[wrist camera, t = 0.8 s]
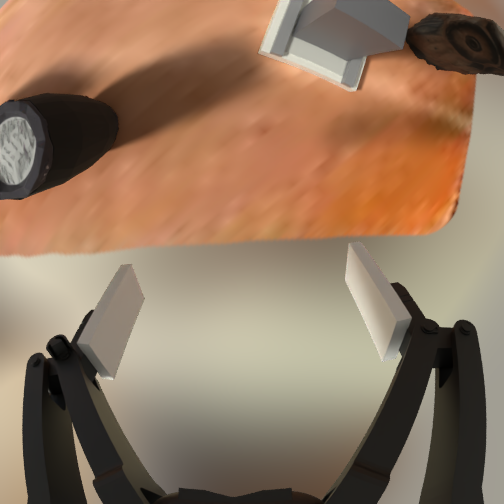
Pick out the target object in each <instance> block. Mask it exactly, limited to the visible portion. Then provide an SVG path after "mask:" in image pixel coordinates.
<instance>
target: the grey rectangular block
mask: <svg viewBox="0 0 504 504" xmlns="http://www.w3.org/2000/svg"><path fill="white" fill-rule="evenodd" d="M409 20H410V16H409V15H408V14H406V13H405V12H404V11H402V10H401V9H400V8H398V7H397V6H395V5H394V4H393V3H391V2H390V1H388V0H312V1H311V2H310V3H309V4H307V5H306V6H305V7H304V8H303V9H302V11H301V14H300V17H299V19H298V22H297V25H296V27H295V30H294V33H293V35H292V36H293V37H296V38H298V39H301V40H303V41H305V42H308V43H310V44H312V45H315V46H317V47H319V48H321V49H323V50H325V51H328V52H330V53H332V54H334V55H336V56H338V57H340V58H342V59H344V60H345V61H348V60H352V59H356V58H360V57H365V56H369V55H374V54H379V53H384V52H390V51H395V50H402V49H403V46H404V42H405V38H406V33H407V29H408V24H409Z"/></svg>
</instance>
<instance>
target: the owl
mask: <svg viewBox="0 0 504 504" xmlns="http://www.w3.org/2000/svg"><path fill="white" fill-rule="evenodd" d="M405 40H406V42H407V44H408V45H409V46H410V48H411V49H412V51H413V52H414V54H415V56H417V58H419V59H424V60H426V62H427V64H429V65H433V66H436V69H437V70H445V71H456V72H459V73H462V74H465V75H467V74H478V73H479V74H495V75H500V76H504V30H503V29H502V28H500V27H499V26H498V25H497V24H496V23H495V22H494V21H493V20H490V19H486V18H481V17H470V16H466V15H462V14H449V13H433V14H432V15H431V14H429V15H428V16H427V17H426V18H424V19H422V20H421V21H420V22H419V23H416V24H415V25H414V26H413V27H412V28H410V29H408V30H407V33H406V38H405Z"/></svg>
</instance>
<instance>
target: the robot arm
mask: <svg viewBox="0 0 504 504" xmlns="http://www.w3.org/2000/svg"><path fill="white" fill-rule="evenodd" d="M345 281H346V284H347V286H348V288H349V290H350V292H351V294H352V296H353V298H354V300H355V302H356V304H357V306H358V309H359V311H360V313H361V315H362V317H363V319H364V322H365V324H366V326H367V328H368V330H369V333H370V335H371V337H372V340H373V342H374V344H375V346H376V349H377V351H378V353H379V356H380V358H381V361H382V362H383V361H387V360H391V359H395V358H396V357H397V354H398V352H399V351H400V353H401V355H402V358H401V360H400V362H399V365H398V367H397V369H396V373H395V375H394V377H393V380H392V382H391V384H390V387H389V389H388V391H387V393H386V395H385V398H384V400H383V402H382V404H381V406H380V408H379V410H378V412H377V414H376V416H375V418H374V420H373V422H372V424H371V426H370V427H369V429H368V431H367V433H366V434H365V437H364V438H363V440H362V441H361V443H360V445H359V447H358V448H357V450H356V452H355V453H354V455H353V456H352V458H351V460H350V461H349V463H348V464H347V466H346V467H345V469H344V470H343V472H342V473H341V475H340V476H339V478H338V479H337V480H336V482H335V483H334V484H333V486H332V487H331V488H330V489H329V491H328V492H327V493H326V495H325V496H324V498H323V499H322V500H320V499H318V498H316V497H314V496H312V495H309V494H306V493H301V492H294V491H292V489H291V488H286V489H275V490H262V491H259V492H255V493H251V494H247V495H243V496H238V497H229V496H225V495H221V494H217V493H213V492H210V491H206V490H196V489H184V488H179V492H175V493H171V494H168V495H167V494H166V493H165V491H164V490H163V489H162V488H161V487H160V486H159V485H157V484H156V483H155V481H154V480H153V479H152V478H151V476H150V475H149V473H148V472H147V470H146V469H145V467H144V466H143V464H142V463H141V462H140V460H139V458H138V457H137V455H136V453H135V452H134V450H133V448H132V447H131V445H130V443H129V442H128V440H127V438H126V437H125V435H124V433H123V431H122V429H121V427H120V426H119V424H118V422H117V420H116V418H115V416H114V414H113V412H112V410H111V408H110V406H109V404H108V402H107V400H106V398H105V396H104V393H103V391H102V389H101V387H100V384H99V382H98V380H97V379H96V378H95V376H96V374H97V372H98V373H99V375H100V376H101V377H102V378H103V379H111V380H114V379H115V375H116V373H117V370H118V367H119V364H120V361H121V358H122V356H123V353H124V350H125V347H126V345H127V342H128V339H129V337H130V334H131V332H132V329H133V326H134V324H135V321H136V319H137V316H138V314H139V311H140V309H141V306H142V304H143V302H144V299H145V298H144V296H143V293H142V291H141V288H140V286H139V283H138V280H137V278H136V275H135V272H134V269H133V267H132V264H127V265H121V266H120V268H119V270H118V271H117V273H116V274H115V276H114V277H113V279H112V281H111V282H110V284H109V286H108V287H107V289H106V291H105V292H104V294H103V296H102V298H101V299H100V301H99V303H98V305H97V306H96V308H95V310H91V311H90V312H89V313H88V314H87V315H86V316H85V317H84V319H83V321H82V324H81V325H80V326H79V329H78V330H77V332H76V334H75V336H74V338H73V339H72V341H71V343H69V341H68V340H67V338H66V337H65V336H64V335H56V336H54V337H53V338H51V339H50V341H49V342H48V344H47V347H46V349H47V351H48V352H49V354H50V355H51V356H52V358H48V359H46V358H45V356H44V355H43V354H42V353H36V354H34V355H32V356H31V357H30V359H29V360H28V363H27V369H26V376H25V386H24V398H23V425H22V426H23V428H22V429H23V430H22V431H23V432H22V434H23V457H24V470H25V479H26V486H27V493H28V503H27V504H87V500H86V497H85V493H84V489H83V485H82V481H81V476H80V472H79V467H78V462H77V456H76V450H75V444H74V437H73V429H72V423H73V426H74V429H75V431H76V434H77V437H78V439H79V441H80V444H81V446H82V449H83V451H84V454H85V456H86V458H87V460H88V462H89V465H90V467H91V469H92V471H93V473H94V475H95V479H94V480H93V486H94V488H95V490H96V492H97V494H98V496H99V498H100V499H101V501H102V503H103V504H377V502H378V501H379V499H380V498H381V496H382V494H383V492H384V491H385V489H386V487H387V485H388V483H389V480H390V473H391V471H392V469H393V467H394V465H395V463H396V461H397V459H398V457H399V455H400V453H401V451H402V449H403V447H404V445H405V442H406V440H407V438H408V435H409V433H410V431H411V428H412V426H413V423H414V421H415V418H416V416H417V413H418V410H419V408H420V405H421V402H422V399H423V396H424V393H425V390H426V387H427V384H428V381H429V378H430V374H431V370H432V368H435V404H434V418H433V429H432V437H431V444H430V451H429V457H428V463H427V469H426V474H425V479H424V483H423V487H422V492H421V496H420V501H419V504H484V501H483V493H482V482H483V474H484V464H485V452H486V398H485V385H484V375H483V367H482V361H481V354H480V347H479V342H478V336H477V331H476V328H475V326H474V325H473V324H472V323H470V322H469V321H466V320H459V321H457V322H456V323H455V325H454V327H453V328H444V327H439V325H438V324H437V323H436V322H435V321H433V320H431V319H426V318H425V316H424V315H423V313H422V312H421V310H420V309H419V308H418V306H417V304H416V303H415V301H413V298H412V297H411V296H410V294H409V292H408V291H407V290H406V288H405V287H404V286H402V285H401V284H399V283H398V282H397V283H389V281H388V280H387V278H386V277H385V275H384V274H383V272H382V271H381V270H380V268H379V267H378V265H377V264H376V262H375V261H374V259H373V258H372V257H371V255H370V254H369V252H368V251H367V250H366V248H365V247H364V246H363V244H362V243H361V242H350V243H349V246H348V257H347V267H346V276H345Z"/></svg>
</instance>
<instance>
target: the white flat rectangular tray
mask: <svg viewBox="0 0 504 504" xmlns="http://www.w3.org/2000/svg"><path fill="white" fill-rule="evenodd" d="M311 1H312V0H279V1H278V3H277V5H276V8H275V10H274V13H273V15H272V18H271V20H270V23H269V25H268V28H267V30H266V33H265V35H264V38H263V41H262V43H261V46H260V49H259V51H258V54H260V55H263V56H266V57H269V58H272V59H275V60H278V61H280V62H283V63H286V64H288V65H291V66H294V67H296V68H299V69H301V70H304V71H306V72H308V73H311V74H313V75H315V76H318V77H320V78H322V79H324V80H326V81H328V82H331V83H333V84H335V85H337V86H339V87H341V88H343V89H345V90H347V91H349V92H351V91H356V90H357V87H358V83H359V80H360V77H361V74H362V71H363V68H364V64H365V61H366V58H367V56H365V57H360V58H356V59H352V60H348V61H345V60H344V59H342V58H340V57H338V56H336V55H334V54H332V53H330V52H328V51H325V50H323V49H321V48H319V47H317V46H315V45H312V44H310V43H308V42H305V41H303V40H301V39H298V38H296V37H293V36H292V35H293V33H294V30H295V27H296V25H297V22H298V19H299V17H300V14H301V11H302V9H303V8H304V7H305V6H306V5H307V4H309V3H310V2H311Z"/></svg>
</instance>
